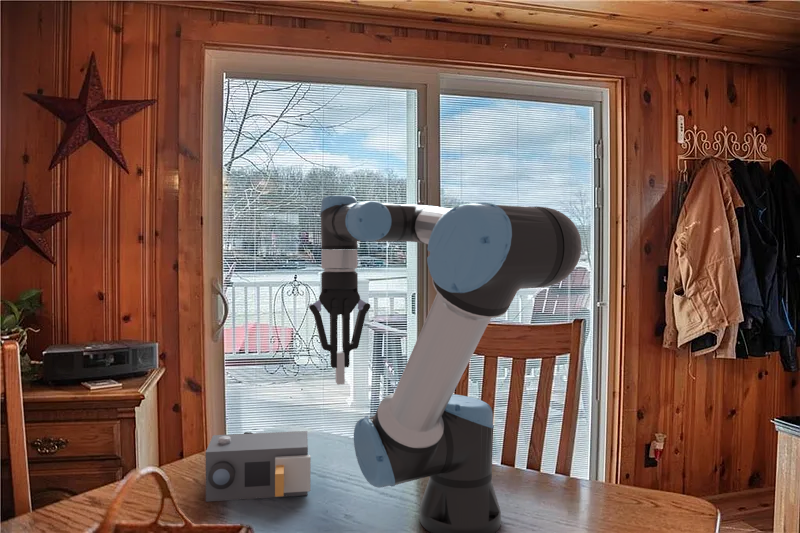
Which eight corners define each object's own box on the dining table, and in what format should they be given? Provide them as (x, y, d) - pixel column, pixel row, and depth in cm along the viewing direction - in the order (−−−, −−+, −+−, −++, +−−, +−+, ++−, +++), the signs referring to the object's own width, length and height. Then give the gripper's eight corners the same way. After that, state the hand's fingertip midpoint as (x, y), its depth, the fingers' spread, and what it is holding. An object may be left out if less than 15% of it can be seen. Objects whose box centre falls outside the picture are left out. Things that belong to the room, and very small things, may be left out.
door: (310, 500, 112) (310, 465, 112) (274, 503, 111) (274, 467, 111) (310, 488, 118) (310, 454, 118) (275, 490, 117) (275, 456, 116)
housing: (307, 498, 117) (307, 445, 116) (204, 505, 113) (204, 450, 113) (307, 475, 128) (307, 426, 128) (213, 480, 125) (213, 430, 124)
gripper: (366, 269, 126) (367, 377, 126) (306, 270, 122) (307, 380, 123) (373, 270, 118) (374, 385, 119) (309, 271, 115) (310, 388, 116)
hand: (340, 382), depth 121 cm, fingers closed
